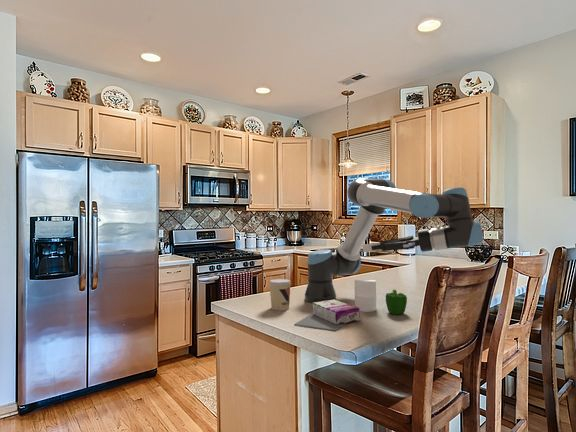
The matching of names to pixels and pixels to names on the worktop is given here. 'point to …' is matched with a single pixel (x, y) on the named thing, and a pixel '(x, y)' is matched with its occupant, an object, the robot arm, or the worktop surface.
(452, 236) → the robot arm
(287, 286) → the coffee cup
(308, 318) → the rubber mat
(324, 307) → the candy bar box
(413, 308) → the worktop surface
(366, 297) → the base with upright slab
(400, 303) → the bell pepper
